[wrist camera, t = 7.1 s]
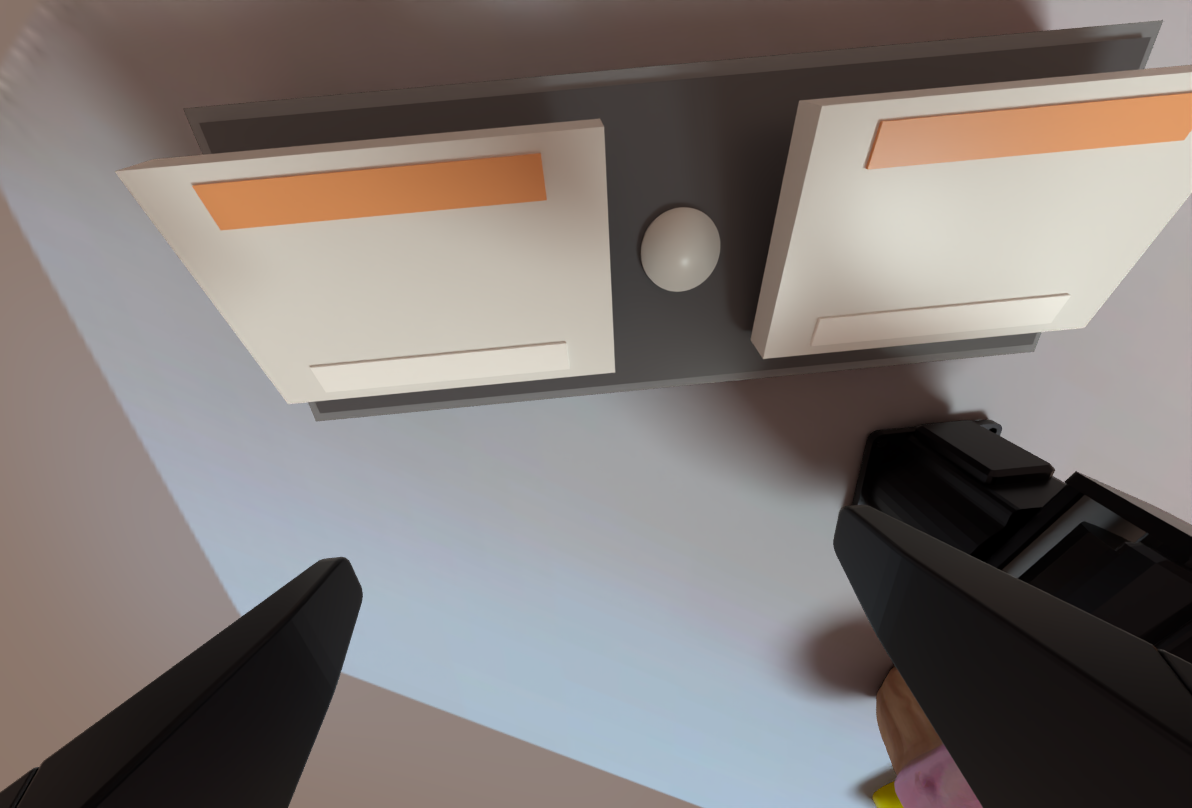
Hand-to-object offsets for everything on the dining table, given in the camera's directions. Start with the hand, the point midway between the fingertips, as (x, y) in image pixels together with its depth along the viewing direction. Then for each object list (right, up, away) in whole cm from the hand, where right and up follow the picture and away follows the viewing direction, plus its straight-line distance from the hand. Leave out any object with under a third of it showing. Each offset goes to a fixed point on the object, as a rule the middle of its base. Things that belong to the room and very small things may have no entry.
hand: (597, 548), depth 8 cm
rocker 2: (+11, +8, +5) cm, 14 cm away
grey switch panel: (+3, +9, +9) cm, 13 cm away
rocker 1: (-5, +6, +4) cm, 9 cm away
